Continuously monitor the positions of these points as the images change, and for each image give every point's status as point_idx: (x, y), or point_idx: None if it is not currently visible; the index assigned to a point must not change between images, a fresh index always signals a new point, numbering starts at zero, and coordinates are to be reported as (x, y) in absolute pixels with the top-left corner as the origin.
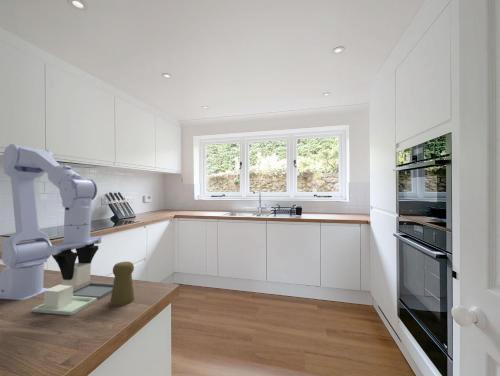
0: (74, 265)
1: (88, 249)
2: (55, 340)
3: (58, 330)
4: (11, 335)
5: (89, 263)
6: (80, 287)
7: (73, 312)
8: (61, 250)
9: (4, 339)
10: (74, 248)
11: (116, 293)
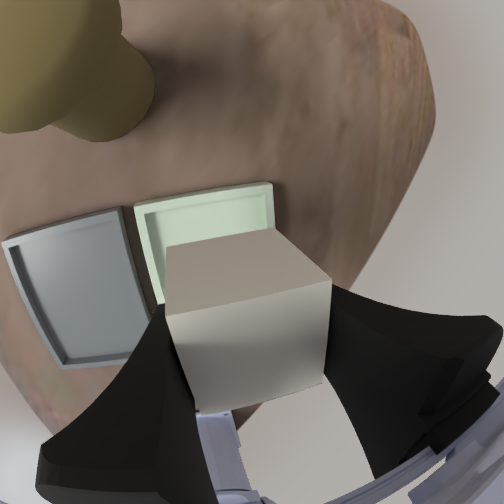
0: (267, 372)
1: (186, 487)
2: (370, 106)
3: (337, 142)
4: (369, 242)
5: (154, 342)
6: (103, 362)
7: (260, 183)
8: (494, 408)
9: (381, 237)
10: (374, 487)
11: (140, 66)
